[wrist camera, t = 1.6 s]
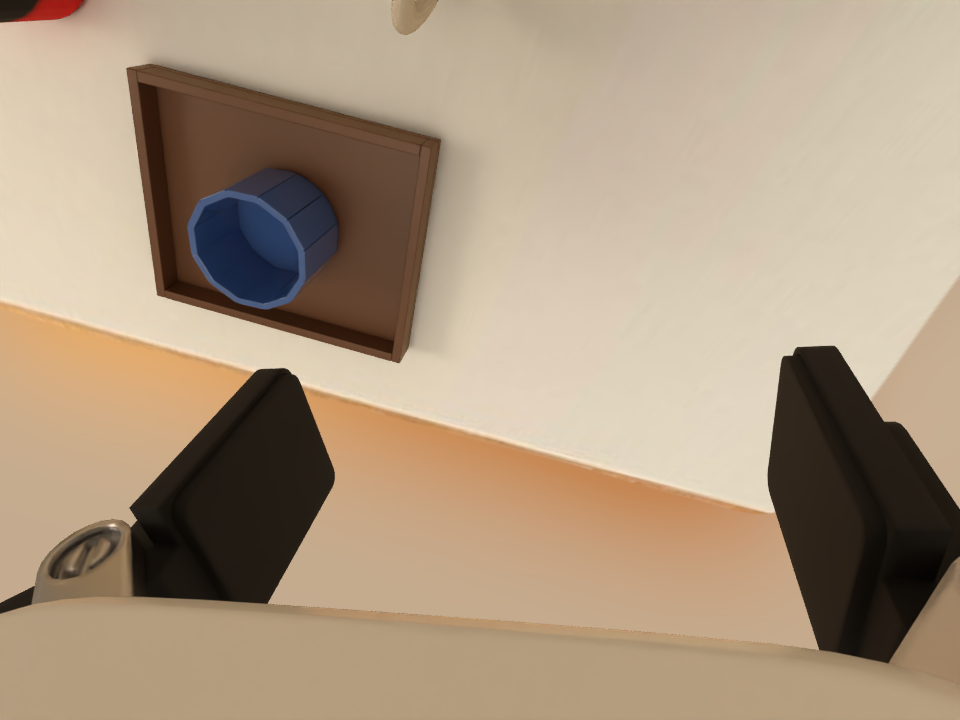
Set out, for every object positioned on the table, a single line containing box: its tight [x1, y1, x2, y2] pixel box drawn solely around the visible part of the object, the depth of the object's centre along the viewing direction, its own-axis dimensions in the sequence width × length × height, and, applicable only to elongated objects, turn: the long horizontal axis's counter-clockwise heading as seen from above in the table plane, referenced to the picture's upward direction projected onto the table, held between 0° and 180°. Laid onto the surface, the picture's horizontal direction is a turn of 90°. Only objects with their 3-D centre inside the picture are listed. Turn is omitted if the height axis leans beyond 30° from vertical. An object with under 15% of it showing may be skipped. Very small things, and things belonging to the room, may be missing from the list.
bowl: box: [187, 168, 339, 309], centre depth 34 cm, size 7×7×5 cm
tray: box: [127, 64, 441, 363], centre depth 35 cm, size 17×14×2 cm
